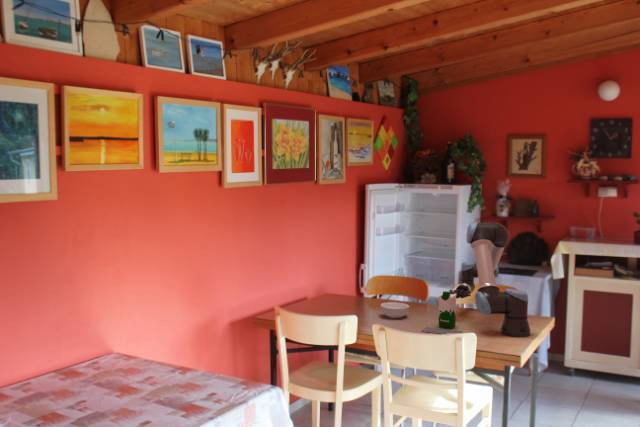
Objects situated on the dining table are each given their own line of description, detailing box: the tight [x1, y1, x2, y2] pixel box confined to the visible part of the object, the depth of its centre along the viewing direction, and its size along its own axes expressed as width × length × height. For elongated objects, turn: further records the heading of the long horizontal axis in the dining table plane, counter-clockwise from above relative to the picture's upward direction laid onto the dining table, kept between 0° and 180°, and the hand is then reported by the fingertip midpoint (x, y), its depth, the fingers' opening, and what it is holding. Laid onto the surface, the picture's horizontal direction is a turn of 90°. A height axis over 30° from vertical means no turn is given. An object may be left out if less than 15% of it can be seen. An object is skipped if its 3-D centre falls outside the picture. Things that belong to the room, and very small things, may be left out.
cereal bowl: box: [380, 301, 410, 319], centre depth 373 cm, size 17×17×7 cm
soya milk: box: [438, 290, 457, 330], centre depth 350 cm, size 9×9×20 cm
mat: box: [420, 326, 463, 335], centre depth 341 cm, size 20×10×1 cm, turn 63°
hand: (452, 298), depth 360 cm, fingers closed
